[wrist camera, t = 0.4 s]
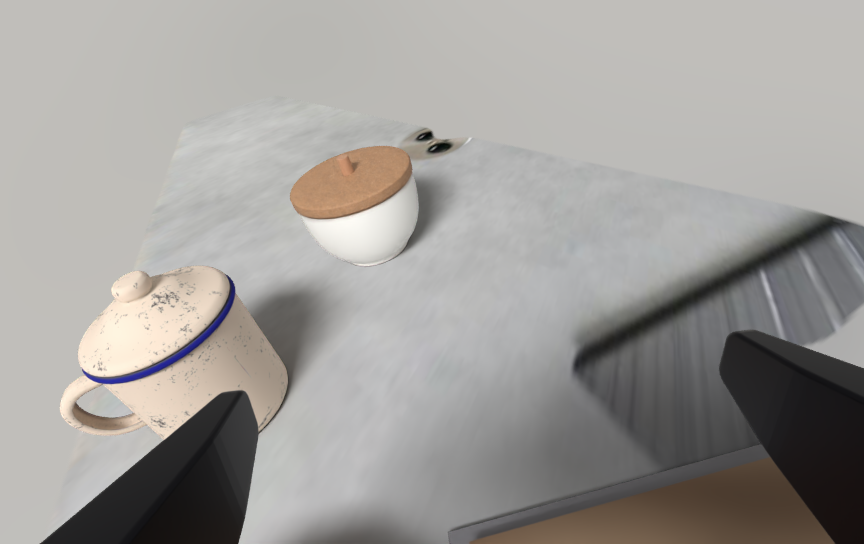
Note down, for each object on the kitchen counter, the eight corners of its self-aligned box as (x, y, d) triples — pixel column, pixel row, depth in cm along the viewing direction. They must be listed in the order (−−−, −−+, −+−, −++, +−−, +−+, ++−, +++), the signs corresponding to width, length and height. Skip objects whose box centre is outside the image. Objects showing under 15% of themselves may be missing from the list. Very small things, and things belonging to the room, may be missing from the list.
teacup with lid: (277, 335, 37) (198, 215, 30) (308, 411, 30) (215, 278, 23) (126, 417, 34) (-1, 304, 27) (123, 523, 27) (-49, 408, 20)
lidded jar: (402, 203, 49) (374, 119, 44) (452, 243, 41) (426, 146, 35) (310, 249, 46) (268, 165, 41) (345, 301, 38) (299, 206, 33)
